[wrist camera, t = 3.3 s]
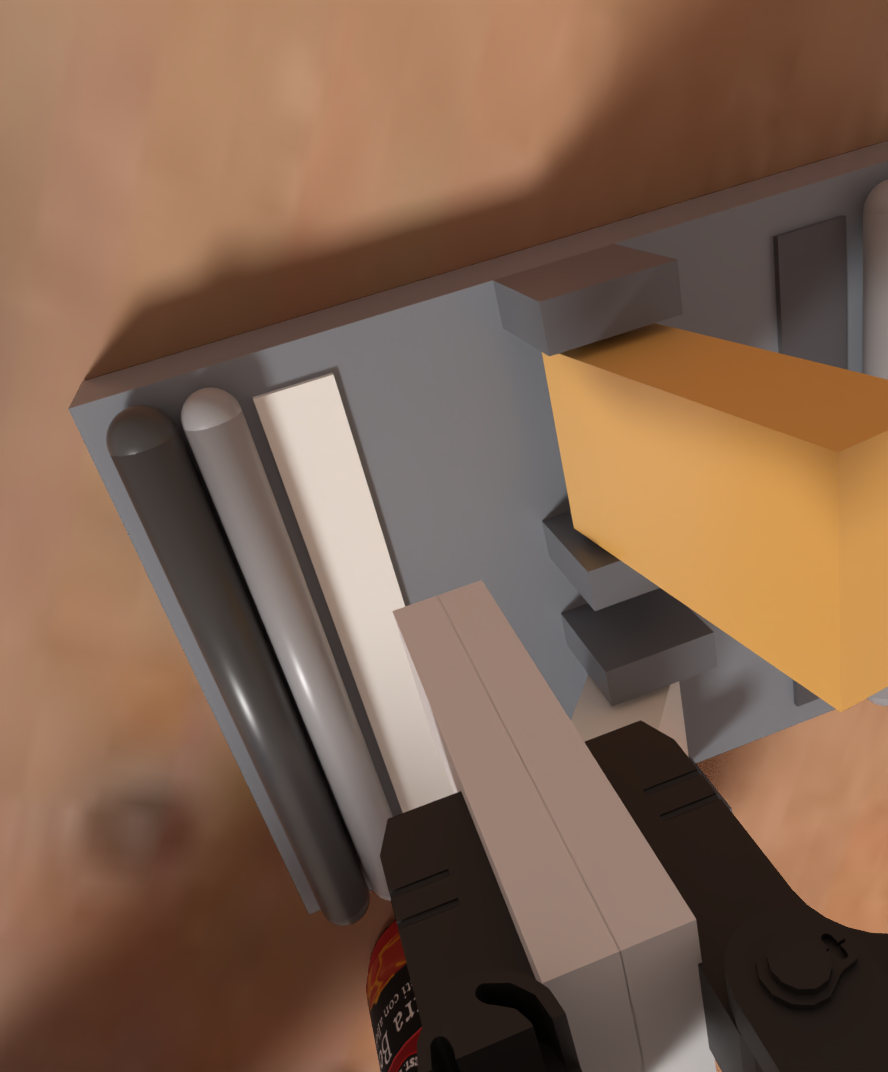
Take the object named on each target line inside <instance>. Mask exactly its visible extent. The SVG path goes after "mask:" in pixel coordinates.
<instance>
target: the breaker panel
mask: <svg viewBox="0 0 888 1072" xmlns="http://www.w3.org/2000/svg"><path fill="white" fill-rule="evenodd" d="M653 323H657V324H661V325H665V326H669V327H674V328H678V329H682V330H686V331H690V332H694V333H698V334H702V335H706V336H711V337H715V338H719V339H723V340H727V341H731V342H735V343H739V344H743V345H748V346H752V347H756V348H760V349H764V350H768V351H772V352H776V353H780V354H785V355H789V356H793V357H797V358H801V359H805V360H809V361H813V362H817V363H822V364H826V365H830V366H834V367H838V368H842V369H846V370H850V371H854V372H859V373H863V374H867V375H871V376H875V377H879V378H883V379H887V380H888V141H885V142H881V143H878V144H875V145H871V146H868V147H865V148H861V149H858V150H855V151H851V152H848V153H845V154H841V155H838V156H835V157H831V158H828V159H825V160H821V161H818V162H815V163H811V164H808V165H805V166H801V167H798V168H795V169H791V170H788V171H785V172H781V173H778V174H774V175H771V176H768V177H764V178H761V179H758V180H754V181H751V182H748V183H744V184H741V185H738V186H734V187H731V188H728V189H724V190H721V191H718V192H714V193H711V194H708V195H704V196H701V197H698V198H694V199H691V200H688V201H684V202H681V203H678V204H674V205H671V206H668V207H664V208H661V209H658V210H654V211H651V212H647V213H644V214H641V215H637V216H634V217H631V218H627V219H624V220H621V221H617V222H614V223H611V224H607V225H604V226H601V227H597V228H594V229H591V230H587V231H584V232H581V233H577V234H574V235H571V236H567V237H564V238H561V239H557V240H554V241H551V242H547V243H544V244H541V245H537V246H534V247H530V248H527V249H524V250H520V251H517V252H514V253H510V254H507V255H504V256H500V257H497V258H494V259H490V260H487V261H484V262H480V263H477V264H474V265H470V266H467V267H464V268H460V269H457V270H454V271H450V272H447V273H444V274H440V275H437V276H434V277H430V278H427V279H424V280H420V281H417V282H413V283H410V284H407V285H403V286H400V287H397V288H393V289H390V290H387V291H383V292H380V293H377V294H373V295H370V296H367V297H363V298H360V299H357V300H353V301H350V302H347V303H343V304H340V305H337V306H333V307H330V308H327V309H323V310H320V311H317V312H313V313H310V314H307V315H303V316H300V317H297V318H293V319H290V320H286V321H283V322H280V323H276V324H273V325H270V326H266V327H263V328H260V329H256V330H253V331H250V332H246V333H243V334H240V335H236V336H233V337H230V338H226V339H223V340H220V341H216V342H213V343H210V344H206V345H203V346H200V347H196V348H193V349H190V350H186V351H183V352H180V353H176V354H173V355H169V356H166V357H163V358H159V359H156V360H153V361H149V362H146V363H143V364H139V365H136V366H133V367H129V368H126V369H123V370H119V371H116V372H113V373H109V374H106V375H103V376H99V377H96V378H93V379H89V380H86V381H83V382H82V383H81V385H80V387H79V389H78V391H77V393H76V395H75V397H74V399H73V401H72V403H71V405H70V407H69V411H70V413H71V415H72V417H73V419H74V422H75V424H76V426H77V428H78V430H79V432H80V434H81V436H82V438H83V440H84V443H85V445H86V447H87V449H88V451H89V453H90V455H91V457H92V459H93V461H94V464H95V466H96V468H97V470H98V472H99V474H100V476H101V478H102V480H103V482H104V485H105V487H106V489H107V491H108V493H109V495H110V497H111V499H112V501H113V503H114V506H115V508H116V510H117V512H118V514H119V516H120V518H121V520H122V522H123V524H124V527H125V529H126V531H127V533H128V535H129V537H130V539H131V541H132V543H133V545H134V548H135V550H136V552H137V554H138V556H139V558H140V560H141V562H142V564H143V566H144V569H145V571H146V573H147V575H148V577H149V579H150V581H151V583H152V585H153V587H154V590H155V592H156V594H157V596H158V598H159V600H160V602H161V604H162V606H163V609H164V611H165V613H166V615H167V617H168V619H169V621H170V623H171V625H172V627H173V630H174V632H175V634H176V636H177V638H178V640H179V642H180V644H181V646H182V648H183V651H184V653H185V655H186V657H187V659H188V661H189V663H190V665H191V667H192V669H193V672H194V674H195V676H196V678H197V680H198V682H199V684H200V686H201V688H202V690H203V693H204V695H205V697H206V699H207V701H208V703H209V705H210V707H211V709H212V711H213V714H214V716H215V718H216V720H217V722H218V724H219V726H220V728H221V730H222V732H223V735H224V737H225V739H226V741H227V743H228V745H229V747H230V749H231V751H232V753H233V756H234V758H235V760H236V762H237V764H238V766H239V768H240V770H241V772H242V774H243V777H244V779H245V781H246V783H247V785H248V787H249V789H250V791H251V793H252V796H253V798H254V800H255V802H256V804H257V806H258V808H259V810H260V812H261V814H262V817H263V819H264V821H265V823H266V825H267V827H268V829H269V831H270V833H271V835H272V838H273V840H274V842H275V844H276V846H277V848H278V850H279V852H280V854H281V856H282V859H283V861H284V863H285V865H286V867H287V869H288V871H289V873H290V875H291V877H292V880H293V882H294V884H295V886H296V888H297V890H298V892H299V894H300V896H301V898H302V901H303V903H304V905H305V907H306V909H307V911H308V913H309V914H312V913H314V912H317V911H319V910H321V911H322V913H323V915H324V916H325V918H326V919H327V920H329V921H330V922H331V923H333V924H336V925H339V926H347V925H351V924H354V923H356V922H357V921H359V920H360V919H361V918H362V917H363V916H364V914H365V913H366V911H367V909H368V906H369V902H370V892H369V891H371V890H373V891H374V892H375V894H377V895H378V896H379V897H380V898H382V899H384V900H387V901H391V897H390V894H389V891H388V887H387V883H386V879H385V875H384V871H383V867H382V863H381V858H380V853H381V848H382V843H383V838H384V834H385V829H386V824H387V820H388V819H389V818H391V817H394V816H397V815H399V814H402V813H404V812H407V811H410V810H412V809H415V808H418V807H420V806H423V805H426V804H428V803H431V802H433V801H436V800H439V799H441V798H444V797H447V796H449V795H452V794H454V792H453V789H452V787H451V784H450V782H449V779H448V776H447V774H446V771H445V769H444V766H443V763H442V761H441V758H440V756H439V753H438V750H437V748H436V745H435V743H434V740H433V737H432V734H431V731H430V728H429V725H428V721H427V718H426V715H425V712H424V709H423V706H422V703H421V699H420V696H419V693H418V690H417V687H416V684H415V681H414V677H413V674H412V671H411V668H410V665H409V662H408V659H407V655H406V652H405V649H404V646H403V643H402V640H401V637H400V633H399V630H398V627H397V624H396V621H395V618H394V615H393V611H394V610H397V609H400V608H403V607H406V606H408V605H411V604H414V603H417V602H420V601H423V600H426V599H428V598H431V597H434V596H437V595H440V594H443V593H446V592H449V591H451V590H454V589H457V588H460V587H463V586H466V585H469V584H472V583H474V582H477V581H480V580H482V581H483V583H484V584H485V586H486V587H487V589H488V591H489V592H490V594H491V595H492V597H493V598H494V600H495V602H496V603H497V605H498V606H499V608H500V610H501V611H502V613H503V614H504V616H505V617H506V619H507V621H508V622H509V624H510V625H511V627H512V629H513V630H514V632H515V633H516V635H517V636H518V638H519V640H520V641H521V643H522V644H523V646H524V648H525V649H526V651H527V652H528V654H529V655H530V657H531V659H532V660H533V662H534V663H535V665H536V667H537V668H538V670H539V671H540V673H541V674H542V676H543V678H544V679H545V681H546V682H547V684H548V686H549V687H550V689H551V690H552V692H553V693H554V695H555V697H556V698H557V700H558V701H559V703H560V705H561V706H562V708H563V709H564V711H565V712H566V714H567V716H568V717H569V719H570V720H571V719H572V716H573V713H574V711H575V708H576V705H577V703H578V700H579V698H580V695H581V692H582V690H583V687H584V684H585V682H586V679H587V677H588V674H589V676H590V677H591V678H592V680H593V681H594V683H595V684H596V685H597V687H598V688H599V689H600V691H601V692H602V694H603V695H604V696H605V698H606V699H607V700H608V702H609V703H610V705H611V706H615V705H617V704H620V703H623V702H625V701H628V700H631V699H633V698H636V697H639V696H641V695H644V694H647V693H649V692H652V691H655V690H657V689H660V688H663V687H665V686H668V685H671V684H673V683H676V682H678V681H679V685H680V693H681V701H682V708H683V716H684V724H685V732H686V740H687V748H688V756H689V759H690V760H691V761H692V762H693V764H694V765H695V766H696V768H697V769H698V772H699V774H700V775H701V774H702V775H703V776H704V778H705V779H706V780H707V782H708V783H709V784H710V785H711V787H712V788H713V789H714V791H715V792H716V794H717V797H718V798H719V799H722V801H723V802H724V803H725V805H726V806H727V807H728V808H729V810H730V811H731V812H732V809H731V807H730V806H729V805H728V803H727V802H726V801H725V800H724V798H723V797H722V796H721V795H720V793H719V792H718V791H717V790H716V788H715V787H714V786H713V785H712V783H711V782H710V781H709V780H708V778H707V777H706V776H705V775H704V773H703V772H702V771H701V770H700V768H699V767H698V766H697V765H696V763H699V762H701V761H704V760H706V759H709V758H711V757H714V756H717V755H719V754H722V753H724V752H727V751H729V750H732V749H734V748H737V747H740V746H742V745H745V744H747V743H750V742H752V741H755V740H757V739H760V738H763V737H765V736H768V735H770V734H773V733H775V732H778V731H781V730H783V729H786V728H788V727H791V726H793V725H796V724H798V723H801V722H804V721H806V720H809V719H811V718H814V717H816V716H819V715H822V714H824V713H827V712H829V711H832V710H834V709H835V708H834V707H832V706H831V705H829V704H828V703H826V702H825V701H824V700H822V699H821V698H819V697H818V696H816V695H815V694H813V693H812V692H811V691H809V690H808V689H806V688H805V687H803V686H802V685H800V684H799V683H798V682H796V681H795V680H793V679H792V678H790V677H789V676H787V675H786V674H784V673H783V672H782V671H780V670H779V669H777V668H776V667H774V666H773V665H771V664H770V663H769V662H767V661H766V660H764V659H763V658H761V657H760V656H758V655H757V654H756V653H754V652H753V651H751V650H750V649H748V648H747V647H745V646H744V645H742V644H741V643H740V642H738V641H737V640H735V639H734V638H732V637H731V636H729V635H728V634H727V633H725V632H724V631H722V630H721V629H719V628H718V627H716V626H715V625H713V624H712V623H711V622H709V621H708V620H706V619H705V618H703V617H702V616H700V615H699V614H698V613H696V612H695V611H693V610H692V609H690V608H689V607H687V606H686V605H685V604H683V603H682V602H680V601H679V600H677V599H676V598H674V597H673V596H671V595H670V594H669V593H667V592H666V591H664V590H663V589H661V588H660V587H658V586H657V585H656V584H654V583H653V582H651V581H650V580H648V579H647V578H645V577H644V576H642V575H641V574H640V573H638V572H637V571H635V570H634V569H632V568H631V567H629V566H628V565H627V564H625V563H624V562H622V561H621V560H619V559H618V558H616V557H615V556H614V555H612V554H611V553H609V552H608V551H606V550H605V549H603V548H602V547H600V546H599V545H598V544H596V543H595V542H593V541H592V540H590V539H589V538H587V537H586V536H585V535H583V534H582V533H580V532H579V531H577V530H576V529H574V526H573V520H572V515H571V509H570V504H569V498H568V493H567V487H566V482H565V476H564V471H563V465H562V460H561V455H560V449H559V444H558V438H557V433H556V427H555V422H554V416H553V411H552V405H551V400H550V394H549V389H548V383H547V378H546V373H545V367H544V362H543V356H542V352H543V353H544V354H546V355H548V356H552V355H556V354H559V353H562V352H565V351H568V350H571V349H575V348H578V347H581V346H584V345H587V344H590V343H593V342H597V341H600V340H603V339H606V338H609V337H612V336H616V335H619V334H622V333H625V332H628V331H631V330H634V329H638V328H641V327H644V326H647V325H650V324H653ZM867 699H868V700H869V701H871V702H872V703H874V704H876V705H880V706H888V687H886V688H884V689H883V690H881V691H879V692H877V693H875V694H873V695H872V696H870V697H868V698H867Z"/></svg>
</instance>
